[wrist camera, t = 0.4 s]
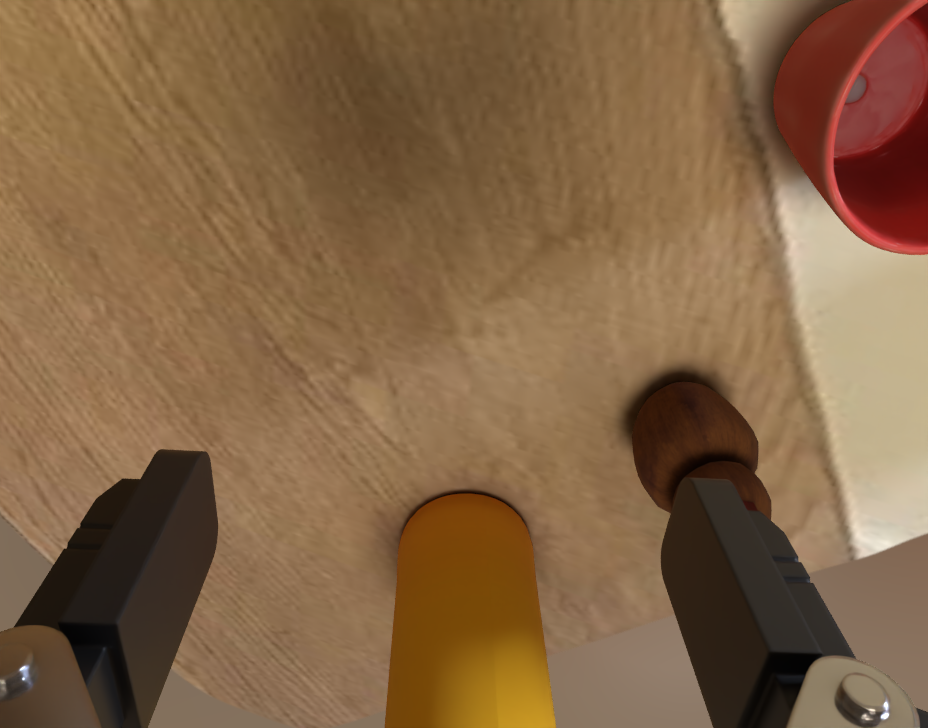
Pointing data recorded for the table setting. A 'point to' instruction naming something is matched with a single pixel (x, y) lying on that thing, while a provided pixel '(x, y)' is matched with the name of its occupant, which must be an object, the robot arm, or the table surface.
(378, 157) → the table surface
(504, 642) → the beer bottle
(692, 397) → the wooden figurine
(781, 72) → the flower pot
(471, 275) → the table surface
